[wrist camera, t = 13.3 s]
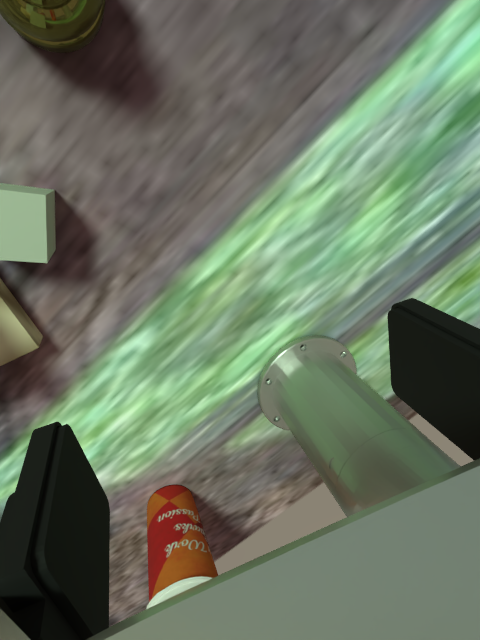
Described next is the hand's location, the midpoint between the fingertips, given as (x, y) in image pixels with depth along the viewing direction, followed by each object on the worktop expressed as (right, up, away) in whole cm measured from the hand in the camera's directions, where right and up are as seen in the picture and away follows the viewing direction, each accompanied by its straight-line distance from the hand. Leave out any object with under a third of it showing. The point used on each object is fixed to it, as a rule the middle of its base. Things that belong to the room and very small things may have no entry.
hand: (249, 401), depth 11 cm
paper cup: (-9, -20, +38) cm, 44 cm away
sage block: (-18, +11, +22) cm, 30 cm away
